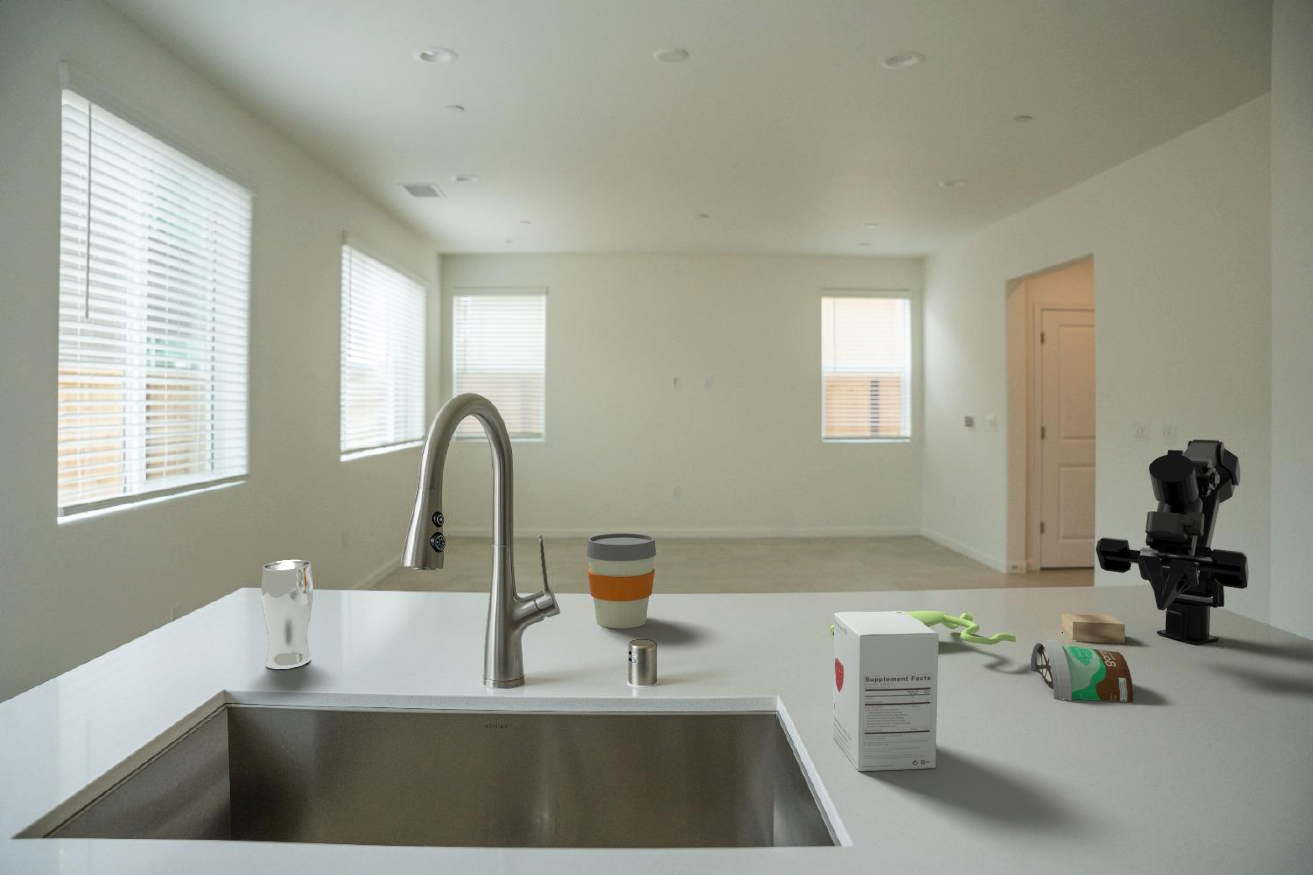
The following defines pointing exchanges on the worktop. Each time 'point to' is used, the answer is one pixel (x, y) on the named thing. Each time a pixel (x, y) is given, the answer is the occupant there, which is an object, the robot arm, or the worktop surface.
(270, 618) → the beer glass
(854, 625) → the supplement box
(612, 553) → the reusable coffee cup
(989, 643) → the figurine
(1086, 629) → the oak block
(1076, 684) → the food container
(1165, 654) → the worktop surface
